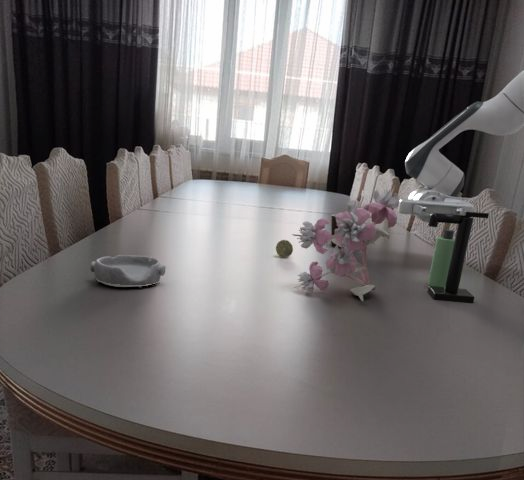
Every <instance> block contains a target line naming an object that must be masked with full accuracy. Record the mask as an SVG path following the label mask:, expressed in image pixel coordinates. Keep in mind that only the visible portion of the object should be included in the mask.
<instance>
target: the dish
mask: <svg viewBox="0 0 524 480" xmlns="http://www.w3.org/2000/svg"><path fill="white" fill-rule="evenodd" d="M166 268H167V267H166V265H162V263H161V261H160V260H159V258H156V257H151V256H149V255H133V254H130V255H129V254H117V255H115V256H113V257H112V256H110V255H106V256H102V257H99V258H97V259H96V260H95V261H91V263H90V272H92V273H94V278H95V277H96V278H97V279H98V280H100V281H103V282H106V283H111V284H120V285H146V284H153V283H156V282H158V281H159V282H160V280H161V277H163V276H165V273H166ZM96 278H95V279H96ZM159 282H158V283H159ZM140 288H141V287H139V289H140Z"/></svg>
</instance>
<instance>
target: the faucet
mask: <svg viewBox="0 0 524 480" xmlns="http://www.w3.org/2000/svg"><path fill="white" fill-rule="evenodd" d="M489 216H490V213H488V212H480V211H479V212H478V211H473V212H467V211H465V213H464V215H455V214H443V213H433V214H431V216H430V220H429V223H428V227H431V228H438V227H439V223H441V224H451V225H452V224H453V225H454V224H455V225H457V226H456V227H457V228H456V232H455V236H454V238H455V241H454V246H453V251H452V256H451V260H450V265H449V270H448V275H447V280H446V285H445V287H437V286H430V285H428V286H427V293H428V294H429V295H430V297H431V298H432V299H433V300H434V301H446V302H448V301H449V302H456V303H457V302H458V303H468V304H473V303H474V301H475V296H474V295H473V294H472V293H471V292H470V291H469V290H468V289H467V288H459V287H460V283H461V277H462V274H463V269H464V265H465V260H466V255H467V251H468V246H469V243H470V242H469V241H470V237H471V233H472V228H473V224H474V218H480V219H489ZM470 217H472V218H470Z"/></svg>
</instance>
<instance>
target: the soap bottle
mask: <svg viewBox="0 0 524 480" xmlns="http://www.w3.org/2000/svg"><path fill="white" fill-rule="evenodd" d="M454 235H455V230H452V229H444V230H443V234H442V236H436V238H435V239H436V240H435V245H434V250H433V255H432V261H431V266H430V271H429V276H428V281H427V285H428V286H437V287H445V285H446V280H447V275H448V270H449V265H450V260H451V256H452V251H453V246H454V241H455V237H454Z"/></svg>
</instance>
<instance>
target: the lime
mask: <svg viewBox="0 0 524 480" xmlns="http://www.w3.org/2000/svg"><path fill="white" fill-rule="evenodd" d="M293 251H294V248H293V244H292V243H291V242H290V240H287V239H281V240H280V241H278V242H277V243H276V246H275V252H276V255H278V257H280V258H283V259H286V258H289V257H290V256H291V255H292V254H293Z"/></svg>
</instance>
